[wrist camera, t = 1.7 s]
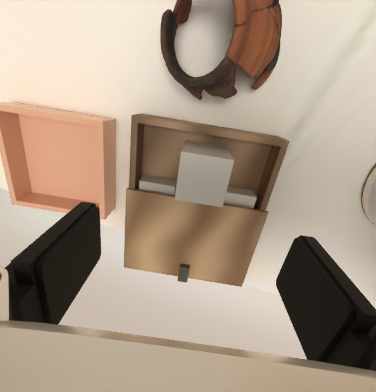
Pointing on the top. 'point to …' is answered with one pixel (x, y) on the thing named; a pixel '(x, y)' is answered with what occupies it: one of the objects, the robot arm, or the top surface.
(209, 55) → the top surface
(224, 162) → the stone block
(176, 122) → the sliding lid wooden box
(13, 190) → the terracotta tray
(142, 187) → the flat grey square block
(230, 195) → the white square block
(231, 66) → the broken pottery ring
